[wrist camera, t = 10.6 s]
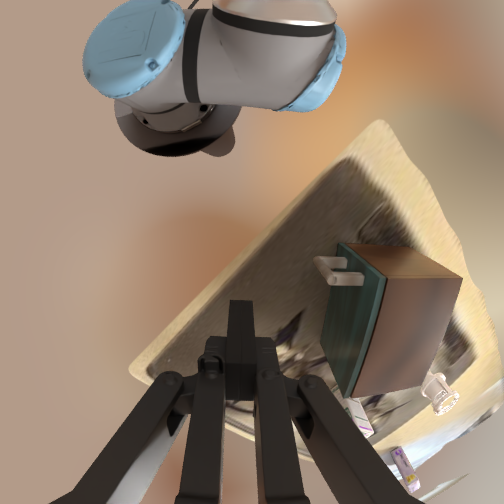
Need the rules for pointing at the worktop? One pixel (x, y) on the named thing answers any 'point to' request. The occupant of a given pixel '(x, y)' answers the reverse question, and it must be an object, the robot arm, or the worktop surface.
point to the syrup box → (354, 412)
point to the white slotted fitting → (438, 392)
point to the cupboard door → (349, 312)
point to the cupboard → (405, 318)
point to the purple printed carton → (405, 469)
